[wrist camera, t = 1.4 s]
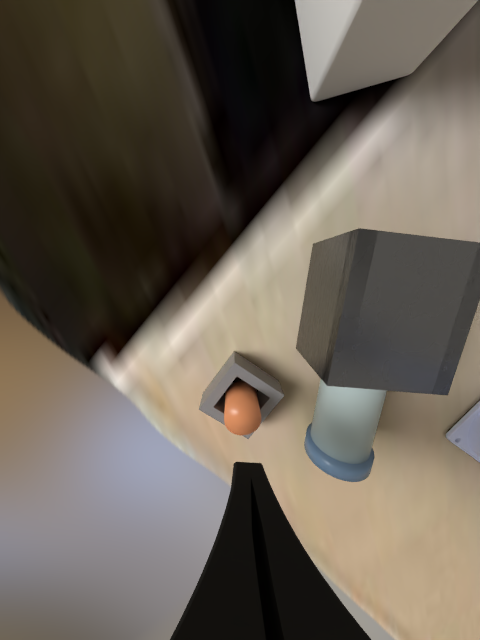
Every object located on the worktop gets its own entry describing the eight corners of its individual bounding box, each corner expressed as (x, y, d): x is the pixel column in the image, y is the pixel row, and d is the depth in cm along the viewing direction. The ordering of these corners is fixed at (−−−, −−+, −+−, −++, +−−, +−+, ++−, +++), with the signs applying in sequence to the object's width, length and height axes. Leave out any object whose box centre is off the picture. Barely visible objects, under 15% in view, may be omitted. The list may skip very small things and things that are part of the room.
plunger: (263, 391, 18) (268, 414, 15) (244, 414, 19) (246, 441, 16) (237, 375, 18) (238, 395, 15) (219, 399, 18) (216, 423, 15)
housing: (313, 243, 17) (359, 228, 11) (403, 254, 18) (497, 244, 11) (296, 348, 19) (327, 385, 13) (378, 355, 19) (447, 395, 13)
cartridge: (327, 259, 17) (365, 255, 12) (389, 266, 17) (450, 264, 12) (297, 429, 20) (317, 479, 15) (349, 433, 21) (385, 483, 16)
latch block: (278, 380, 20) (284, 395, 17) (246, 419, 20) (248, 439, 18) (234, 351, 19) (234, 362, 17) (202, 393, 20) (198, 409, 17)
